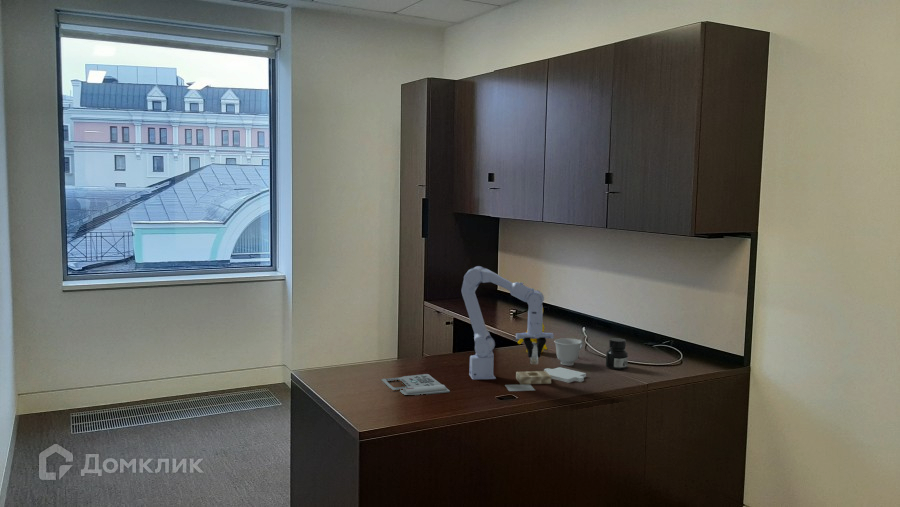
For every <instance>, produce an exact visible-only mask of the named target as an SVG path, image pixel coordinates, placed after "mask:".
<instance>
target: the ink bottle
mask: <svg viewBox="0 0 900 507" xmlns="http://www.w3.org/2000/svg"><path fill="white" fill-rule="evenodd" d="M626 343H627V340H626V339H624V338H619V337H613V338H609V340H608V348H609V349H608V350H606V352H605V367H606V368H608V369H610V370H617V371H622V370H626V369H627V368H628V358H629V356H628V355H629V354H628V352H627V350H626V345H627V344H626Z"/></svg>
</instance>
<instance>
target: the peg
mask: <svg viewBox="0 0 900 507" xmlns="http://www.w3.org/2000/svg"><path fill="white" fill-rule="evenodd" d="M538 346H539V343H536V342H532V346H531V358H529V360H530V361H529V363H530V365H538V364H539V357H538Z"/></svg>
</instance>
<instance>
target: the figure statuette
mask: <svg viewBox="0 0 900 507" xmlns="http://www.w3.org/2000/svg"><path fill="white" fill-rule="evenodd" d="M542 311H543V312H544V308H543V309H542ZM526 332H527V330H526ZM526 332H525V333H526ZM542 332H543V333H545V325H544V322H543V321H542ZM531 341H532V342H536V343H537V339H531ZM522 343H524V341H523V339H518V341H517V344H518V345H521V344H522ZM525 348H526V347H525ZM544 350H545V351H547V350H548V348H547V345H546V344H545V345H544V347H543V349H542V351H541V354H542V353H543V352H544ZM526 353H527V354H528V352H527V348H526Z"/></svg>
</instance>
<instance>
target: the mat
mask: <svg viewBox="0 0 900 507" xmlns="http://www.w3.org/2000/svg"><path fill="white" fill-rule="evenodd" d="M504 386H505V387H506V389H507V390H508V392H526V391H527V392H528V391H536V389H535V388H534V386H532V384H505V385H504Z"/></svg>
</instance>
